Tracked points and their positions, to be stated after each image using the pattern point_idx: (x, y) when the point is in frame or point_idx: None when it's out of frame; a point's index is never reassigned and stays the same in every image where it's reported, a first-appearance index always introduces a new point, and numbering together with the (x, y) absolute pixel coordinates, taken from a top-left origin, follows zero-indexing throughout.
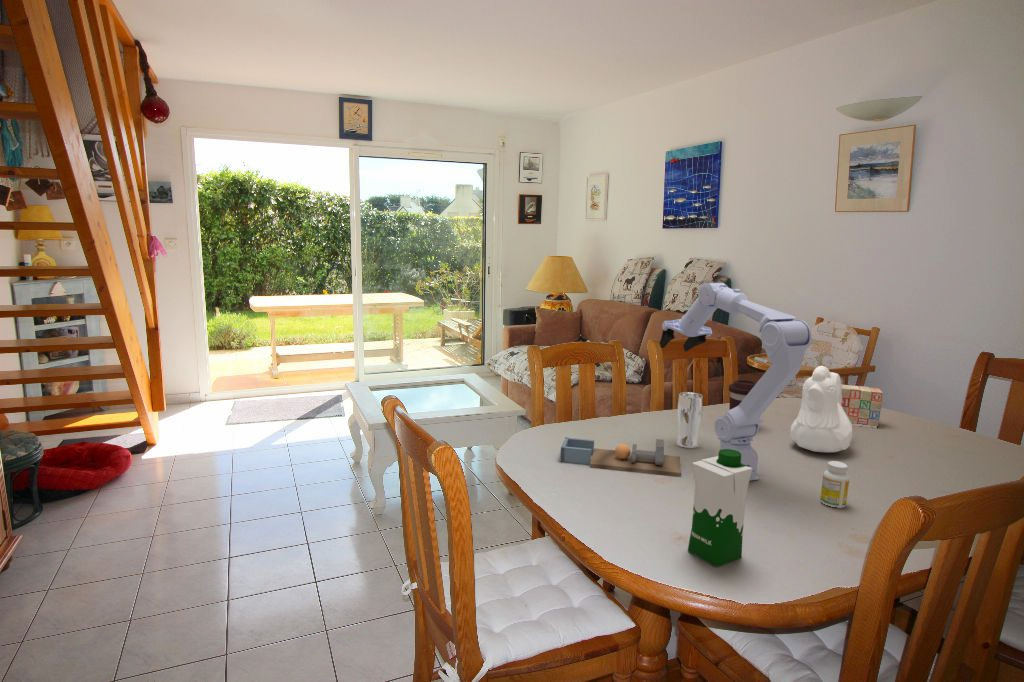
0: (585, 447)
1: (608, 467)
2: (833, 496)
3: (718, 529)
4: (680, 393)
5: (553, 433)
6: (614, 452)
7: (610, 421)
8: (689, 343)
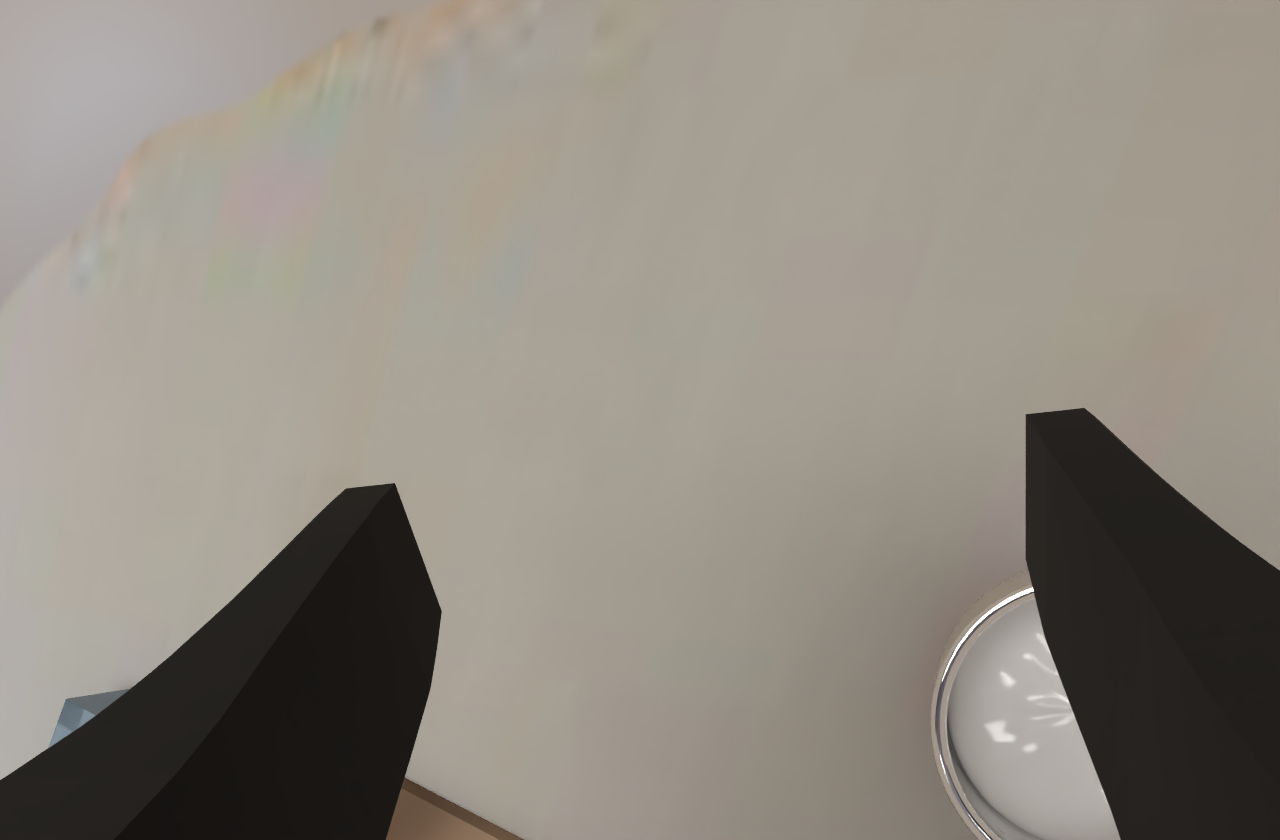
0: None
1: None
2: None
3: None
4: (970, 643)
5: (157, 326)
6: (392, 837)
7: (614, 29)
8: (1106, 706)
